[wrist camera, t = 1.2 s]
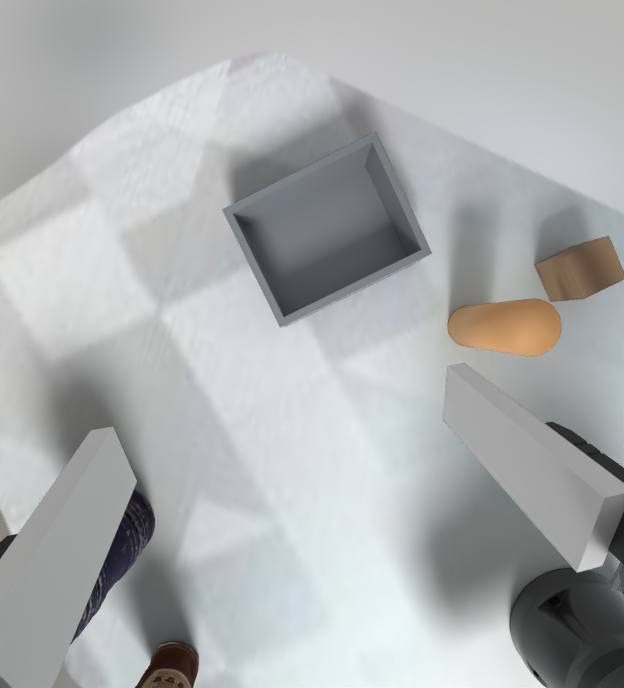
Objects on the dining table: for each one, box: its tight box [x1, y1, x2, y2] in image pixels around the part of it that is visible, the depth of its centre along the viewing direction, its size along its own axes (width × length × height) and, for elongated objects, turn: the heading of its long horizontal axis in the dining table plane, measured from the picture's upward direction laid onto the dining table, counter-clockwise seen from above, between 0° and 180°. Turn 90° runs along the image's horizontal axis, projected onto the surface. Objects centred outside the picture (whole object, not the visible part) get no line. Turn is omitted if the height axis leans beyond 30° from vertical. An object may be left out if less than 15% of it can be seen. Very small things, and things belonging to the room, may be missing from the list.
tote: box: [222, 131, 432, 327], centre depth 37 cm, size 18×14×6 cm
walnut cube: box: [535, 236, 624, 302], centre depth 38 cm, size 5×5×5 cm
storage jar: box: [70, 490, 155, 645], centre depth 35 cm, size 10×10×15 cm
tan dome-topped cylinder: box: [448, 299, 561, 356], centre depth 35 cm, size 5×5×12 cm
